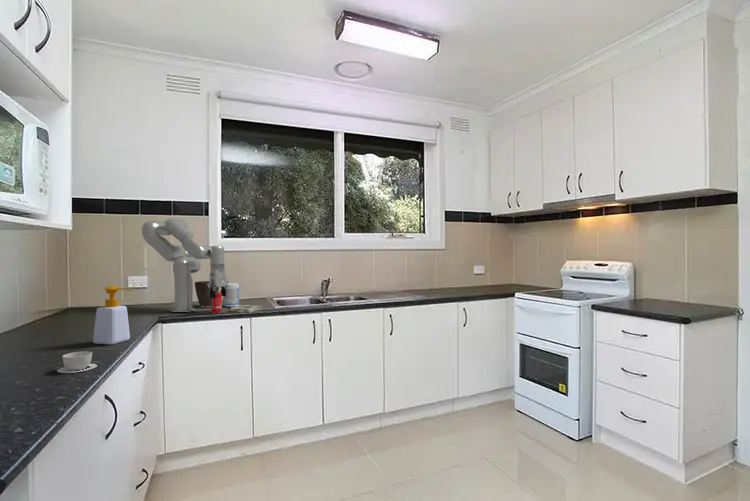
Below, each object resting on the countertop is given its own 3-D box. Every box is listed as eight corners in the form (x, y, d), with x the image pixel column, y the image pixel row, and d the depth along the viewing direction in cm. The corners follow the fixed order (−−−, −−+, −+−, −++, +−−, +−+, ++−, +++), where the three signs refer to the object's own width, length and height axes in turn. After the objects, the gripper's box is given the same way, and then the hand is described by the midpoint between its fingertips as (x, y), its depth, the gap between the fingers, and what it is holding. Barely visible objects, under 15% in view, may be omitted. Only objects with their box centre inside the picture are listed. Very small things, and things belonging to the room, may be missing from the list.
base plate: (228, 311, 240) (228, 308, 240) (241, 308, 254) (241, 305, 254) (249, 313, 236) (249, 309, 236) (262, 309, 250) (262, 306, 250)
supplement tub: (240, 307, 260) (241, 283, 260) (225, 308, 254) (225, 284, 254) (236, 305, 268) (236, 282, 268) (221, 306, 262) (221, 283, 262)
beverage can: (211, 313, 233) (211, 292, 233) (212, 312, 238) (212, 291, 238) (221, 313, 234) (221, 292, 234) (222, 312, 239) (222, 291, 239)
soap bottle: (121, 346, 155) (122, 287, 155) (91, 344, 158) (91, 286, 158) (140, 340, 165) (141, 285, 164) (111, 339, 167) (111, 284, 167)
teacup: (100, 369, 126) (100, 354, 126) (59, 376, 119) (59, 360, 119) (93, 363, 133) (93, 348, 133) (54, 369, 126) (54, 354, 126)
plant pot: (201, 305, 266) (201, 280, 266) (223, 305, 266) (223, 281, 266) (189, 308, 252) (190, 282, 251) (213, 309, 251) (213, 282, 251)
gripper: (213, 267, 227) (214, 298, 227) (232, 266, 243) (232, 295, 243) (201, 268, 229) (202, 298, 229) (221, 266, 245) (221, 295, 245)
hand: (218, 296), depth 236 cm, fingers open, 9 cm apart
